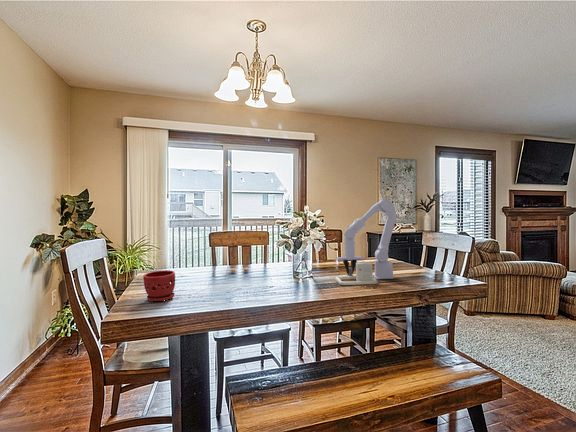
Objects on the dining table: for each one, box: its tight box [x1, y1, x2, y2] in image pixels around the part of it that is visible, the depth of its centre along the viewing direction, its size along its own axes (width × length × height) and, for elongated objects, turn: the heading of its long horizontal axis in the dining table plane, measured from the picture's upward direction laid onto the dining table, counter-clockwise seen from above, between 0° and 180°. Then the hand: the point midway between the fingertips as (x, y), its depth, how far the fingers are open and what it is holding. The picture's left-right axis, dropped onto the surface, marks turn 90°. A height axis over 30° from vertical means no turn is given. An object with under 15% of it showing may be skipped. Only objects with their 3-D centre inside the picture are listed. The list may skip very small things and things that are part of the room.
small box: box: [355, 261, 374, 281], centre depth 171 cm, size 8×6×10 cm
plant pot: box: [142, 269, 176, 302], centre depth 145 cm, size 13×13×12 cm
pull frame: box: [334, 267, 379, 286], centre depth 176 cm, size 19×20×5 cm
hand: (349, 273), depth 185 cm, fingers closed on pull frame, 2 cm apart
